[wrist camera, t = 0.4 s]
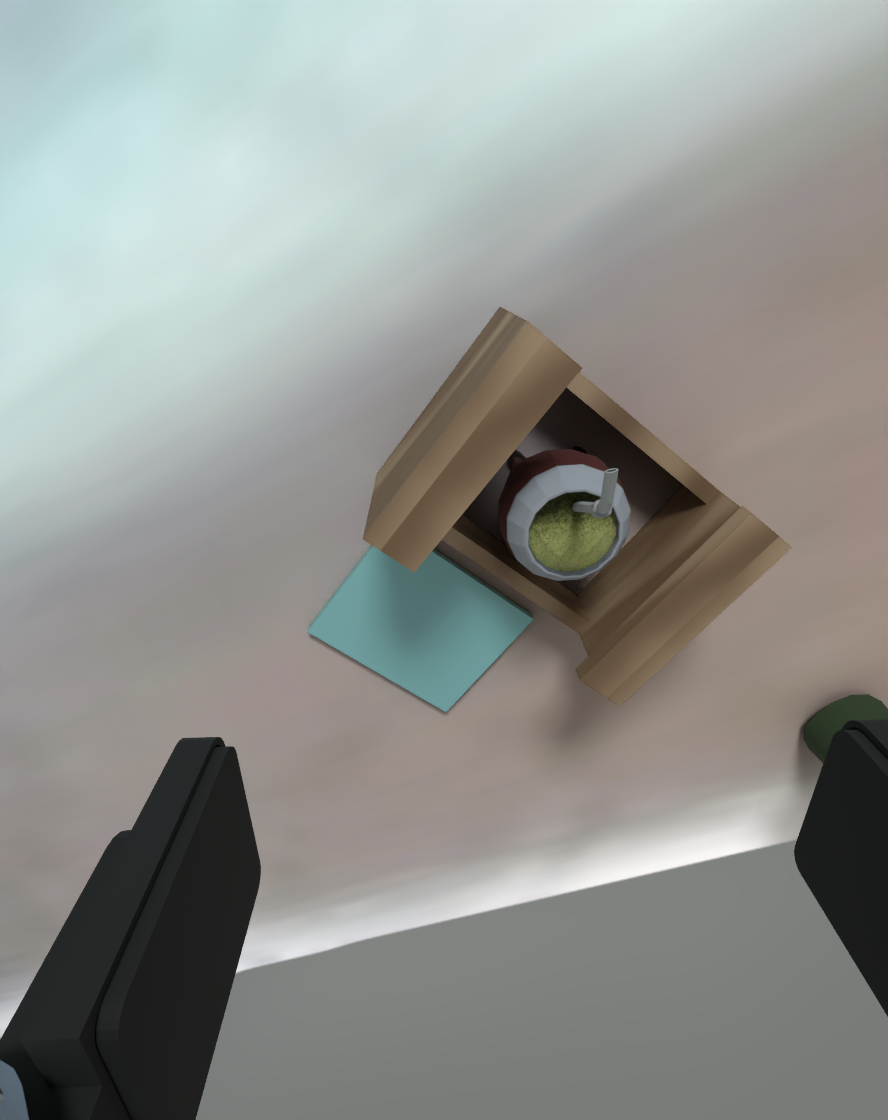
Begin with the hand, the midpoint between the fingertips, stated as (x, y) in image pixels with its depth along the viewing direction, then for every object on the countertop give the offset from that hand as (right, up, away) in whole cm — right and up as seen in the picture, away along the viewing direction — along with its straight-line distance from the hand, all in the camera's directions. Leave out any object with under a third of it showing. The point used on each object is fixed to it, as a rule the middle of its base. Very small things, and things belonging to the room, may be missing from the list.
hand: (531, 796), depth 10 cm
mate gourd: (+5, +9, +29) cm, 30 cm away
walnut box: (+5, +9, +28) cm, 30 cm away
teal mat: (-3, -1, +33) cm, 33 cm away
